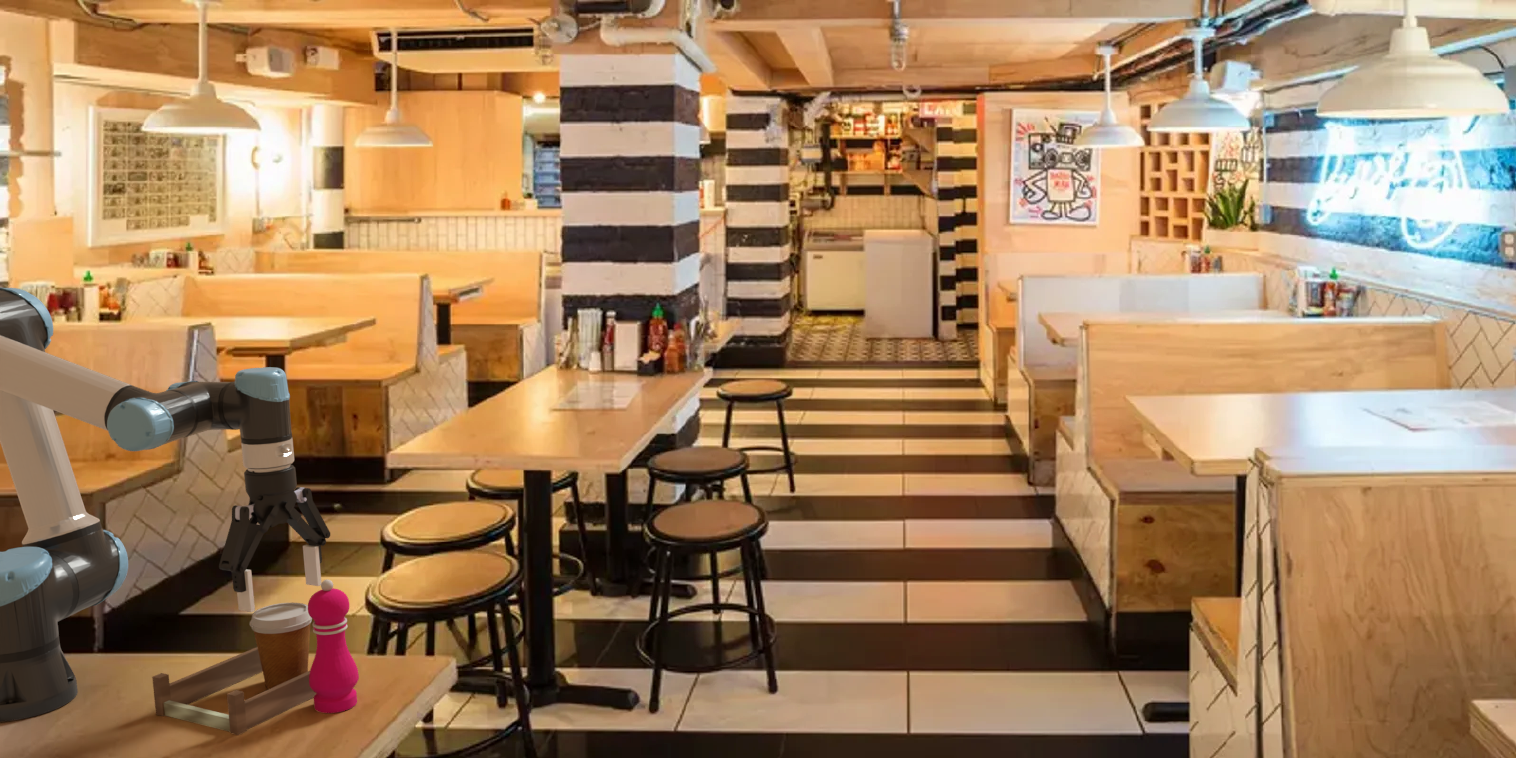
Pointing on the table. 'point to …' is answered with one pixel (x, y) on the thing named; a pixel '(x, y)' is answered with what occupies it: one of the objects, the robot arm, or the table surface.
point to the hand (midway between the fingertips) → (281, 597)
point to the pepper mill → (331, 652)
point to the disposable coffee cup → (282, 641)
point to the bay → (228, 695)
